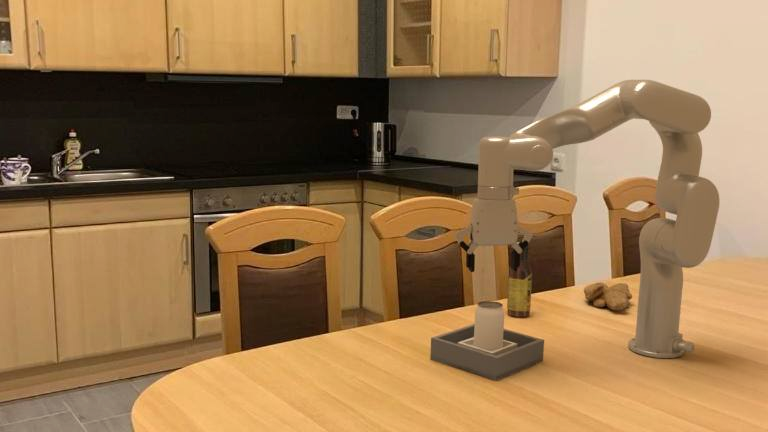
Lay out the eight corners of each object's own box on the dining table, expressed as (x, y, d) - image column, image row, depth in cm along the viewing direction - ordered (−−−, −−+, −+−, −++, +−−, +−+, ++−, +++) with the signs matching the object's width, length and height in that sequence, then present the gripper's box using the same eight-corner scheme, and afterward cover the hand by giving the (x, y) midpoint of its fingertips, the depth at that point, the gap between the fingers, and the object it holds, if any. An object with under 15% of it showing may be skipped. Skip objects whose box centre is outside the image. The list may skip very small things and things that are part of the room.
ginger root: (590, 290, 237) (597, 266, 235) (639, 312, 228) (647, 288, 226) (566, 302, 226) (574, 277, 223) (617, 326, 217) (625, 300, 214)
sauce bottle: (531, 318, 211) (535, 246, 208) (508, 318, 211) (512, 245, 208) (527, 312, 217) (531, 241, 214) (505, 311, 217) (508, 240, 214)
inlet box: (542, 361, 178) (544, 339, 177) (495, 381, 165) (497, 358, 164) (478, 342, 190) (479, 322, 189) (430, 359, 177) (431, 337, 176)
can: (501, 361, 173) (504, 309, 172) (471, 359, 175) (474, 306, 173) (502, 352, 180) (505, 301, 178) (474, 350, 181) (476, 299, 179)
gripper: (528, 191, 176) (525, 265, 179) (452, 191, 174) (450, 267, 177) (539, 195, 169) (535, 273, 171) (459, 196, 167) (457, 275, 169)
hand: (492, 270), depth 174 cm, fingers open, 9 cm apart
